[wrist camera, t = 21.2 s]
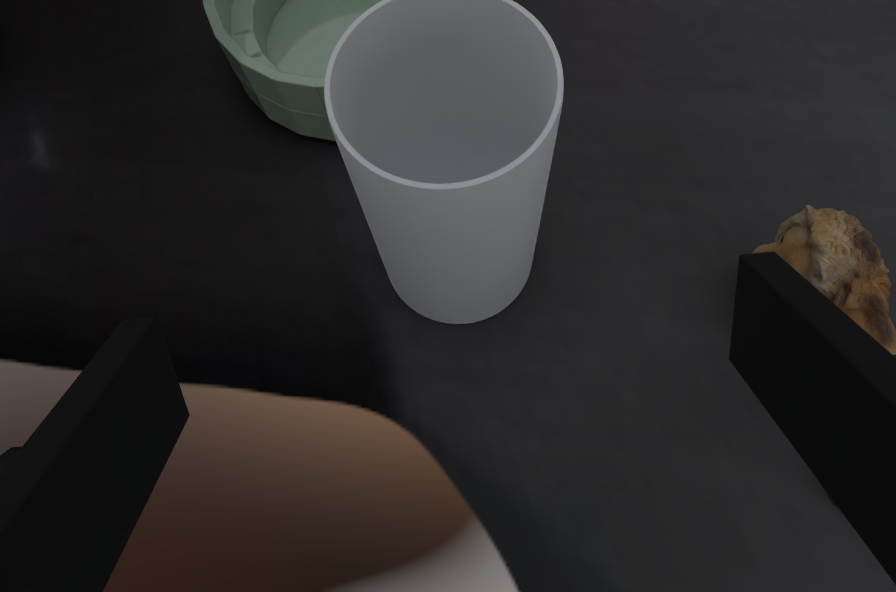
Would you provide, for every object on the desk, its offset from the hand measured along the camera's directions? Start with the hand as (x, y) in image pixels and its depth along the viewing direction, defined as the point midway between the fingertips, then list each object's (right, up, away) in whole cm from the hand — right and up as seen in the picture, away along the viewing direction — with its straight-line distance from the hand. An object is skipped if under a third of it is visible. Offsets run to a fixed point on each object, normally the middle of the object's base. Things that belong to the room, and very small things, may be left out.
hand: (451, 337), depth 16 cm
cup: (+1, +3, +23) cm, 23 cm away
